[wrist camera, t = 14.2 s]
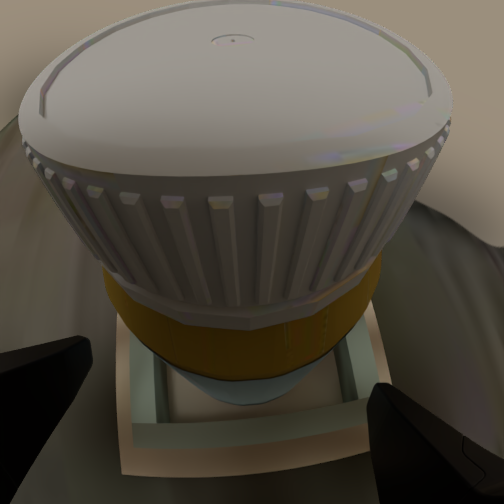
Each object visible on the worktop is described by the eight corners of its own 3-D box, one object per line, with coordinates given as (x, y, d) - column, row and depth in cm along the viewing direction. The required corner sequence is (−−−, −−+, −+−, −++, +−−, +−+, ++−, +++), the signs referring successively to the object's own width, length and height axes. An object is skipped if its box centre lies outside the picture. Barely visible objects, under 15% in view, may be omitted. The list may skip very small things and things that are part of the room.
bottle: (165, 386, 15) (-81, 189, 2) (202, 273, 18) (143, -1, 6) (296, 418, 14) (564, 324, 1) (319, 297, 18) (421, 25, 5)
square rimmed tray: (397, 440, 14) (424, 439, 11) (126, 473, 13) (102, 479, 10) (341, 220, 21) (352, 190, 19) (127, 241, 20) (112, 213, 18)
